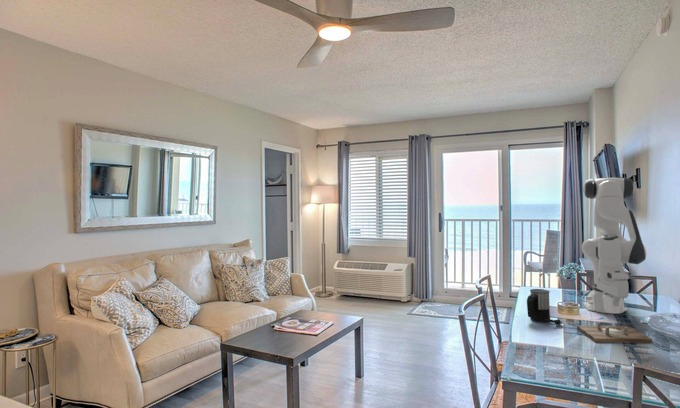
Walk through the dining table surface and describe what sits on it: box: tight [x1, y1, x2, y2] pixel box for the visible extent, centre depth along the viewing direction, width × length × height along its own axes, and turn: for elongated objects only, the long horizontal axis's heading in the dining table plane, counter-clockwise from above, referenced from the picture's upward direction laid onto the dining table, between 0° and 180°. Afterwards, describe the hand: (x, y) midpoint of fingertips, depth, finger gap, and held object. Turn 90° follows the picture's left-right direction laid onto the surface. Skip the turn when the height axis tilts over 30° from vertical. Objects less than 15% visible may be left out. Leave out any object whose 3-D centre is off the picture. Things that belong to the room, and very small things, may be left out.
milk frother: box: [526, 288, 564, 326], centre depth 205 cm, size 14×16×15 cm
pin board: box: [576, 321, 653, 344], centre depth 182 cm, size 18×22×5 cm
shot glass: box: [602, 294, 621, 314], centre depth 182 cm, size 7×7×7 cm
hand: (612, 303), depth 182 cm, fingers closed on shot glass, 5 cm apart
